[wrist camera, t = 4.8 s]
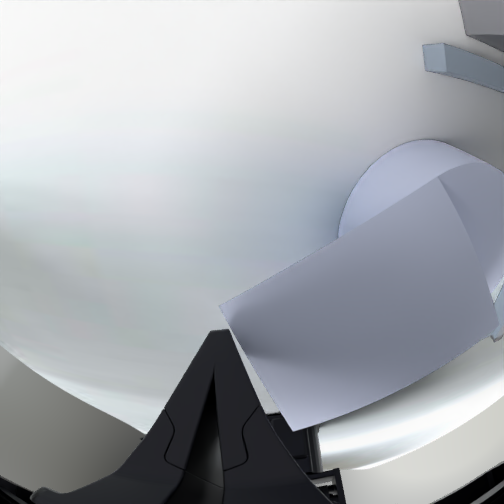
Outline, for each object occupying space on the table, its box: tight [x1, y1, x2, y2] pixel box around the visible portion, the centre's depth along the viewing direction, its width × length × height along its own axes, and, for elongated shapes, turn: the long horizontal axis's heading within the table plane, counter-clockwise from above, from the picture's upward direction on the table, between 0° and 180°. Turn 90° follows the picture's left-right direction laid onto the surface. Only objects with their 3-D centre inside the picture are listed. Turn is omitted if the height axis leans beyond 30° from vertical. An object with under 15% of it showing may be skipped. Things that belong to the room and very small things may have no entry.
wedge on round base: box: [219, 139, 504, 431], centre depth 10 cm, size 9×7×13 cm
